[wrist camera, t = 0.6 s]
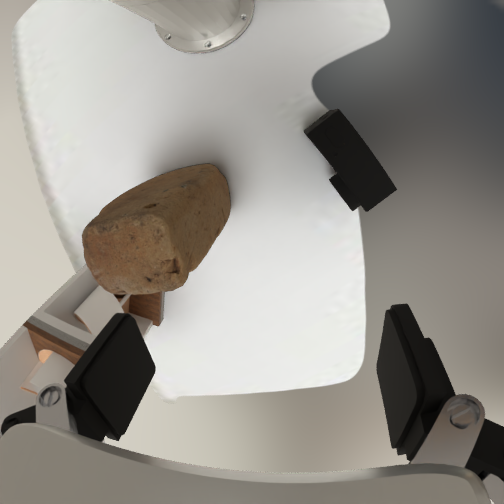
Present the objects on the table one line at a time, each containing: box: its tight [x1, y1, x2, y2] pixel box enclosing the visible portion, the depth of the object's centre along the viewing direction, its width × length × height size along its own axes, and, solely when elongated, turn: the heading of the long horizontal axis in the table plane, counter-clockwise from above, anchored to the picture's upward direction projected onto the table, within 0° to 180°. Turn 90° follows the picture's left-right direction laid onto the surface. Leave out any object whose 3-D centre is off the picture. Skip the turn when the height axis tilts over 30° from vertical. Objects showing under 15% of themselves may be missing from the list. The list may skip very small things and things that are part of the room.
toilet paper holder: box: [0, 264, 165, 430], centre depth 30 cm, size 11×11×35 cm
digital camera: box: [304, 109, 397, 211], centre depth 31 cm, size 10×5×7 cm, turn 42°
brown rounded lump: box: [82, 164, 231, 295], centre depth 29 cm, size 11×8×20 cm
